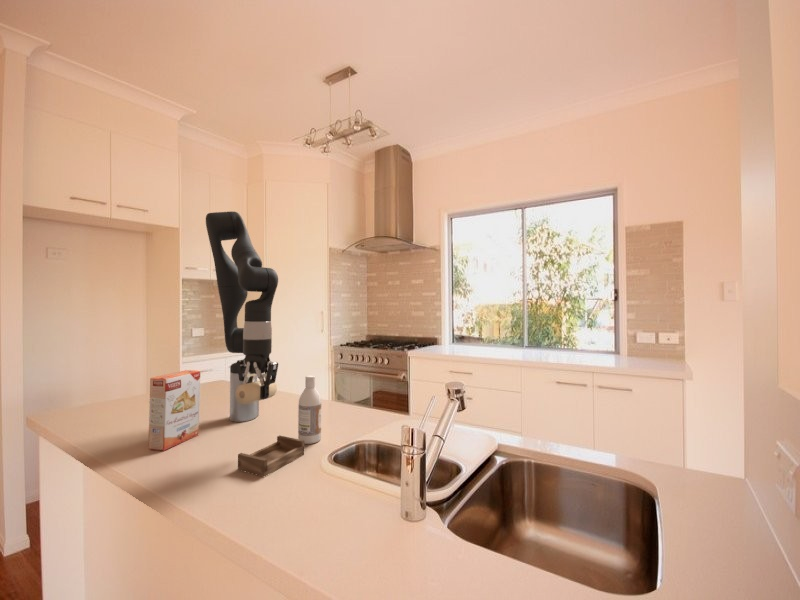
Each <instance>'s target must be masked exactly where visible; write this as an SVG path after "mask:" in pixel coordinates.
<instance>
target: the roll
mask: <svg viewBox="0 0 800 600" xmlns="http://www.w3.org/2000/svg"><path fill="white" fill-rule="evenodd" d="M264 381H265V379H264ZM260 386H261V383H260V380H257V382H252V383H247V384H243V385H239V386H238V387H237V389H236V392H235V396H236V399H237V401H238V402H239V403H240V404H249V403H252V402H256V401H259V402H260V401H263V400H262V399H260ZM277 389H278V388H277V384H276V382H275V383H272V384H270V385H269V396H268V398H267V399H269V398H272V397H274V396H275V395H276V394H277Z"/></svg>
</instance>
